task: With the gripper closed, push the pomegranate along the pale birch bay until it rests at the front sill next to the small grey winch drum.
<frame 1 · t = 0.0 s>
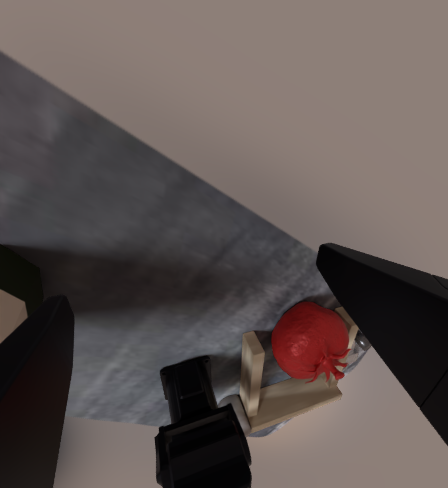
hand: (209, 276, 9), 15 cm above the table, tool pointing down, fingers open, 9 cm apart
pomegranate: (294, 320, 38), on the table
crank handle: (346, 338, 45), on the table
bay: (289, 352, 41), on the table
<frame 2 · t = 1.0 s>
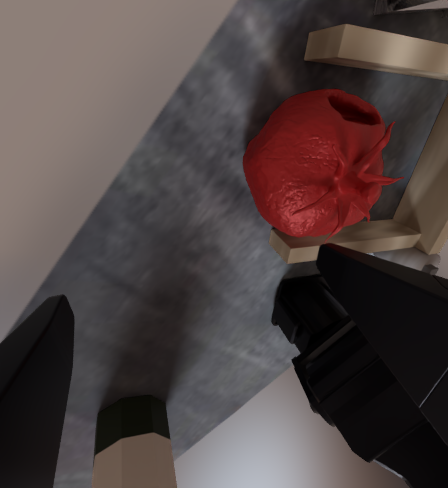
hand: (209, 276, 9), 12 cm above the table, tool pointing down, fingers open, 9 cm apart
wine bottle: (131, 414, 33), on the table
pomegranate: (288, 156, 22), on the table
bay: (358, 158, 24), on the table
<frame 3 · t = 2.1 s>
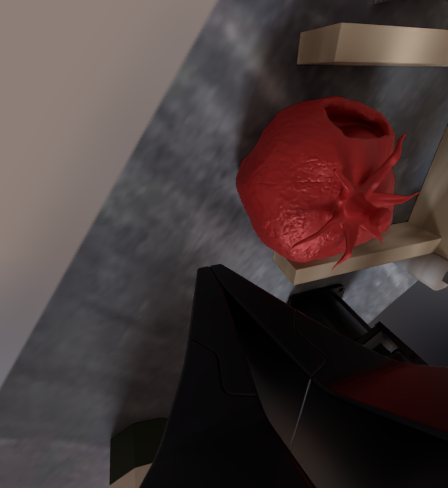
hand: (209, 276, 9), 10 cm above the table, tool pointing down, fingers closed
wine bottle: (145, 436, 32), on the table
pomegranate: (287, 169, 20), on the table
bay: (366, 162, 21), on the table
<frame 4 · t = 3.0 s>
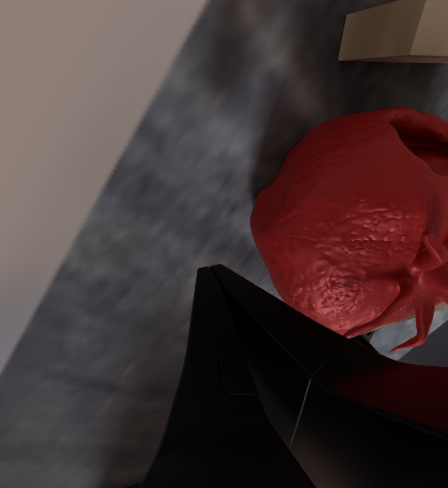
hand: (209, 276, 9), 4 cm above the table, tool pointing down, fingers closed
pomegranate: (315, 199, 15), on the table
bay: (413, 188, 17), on the table
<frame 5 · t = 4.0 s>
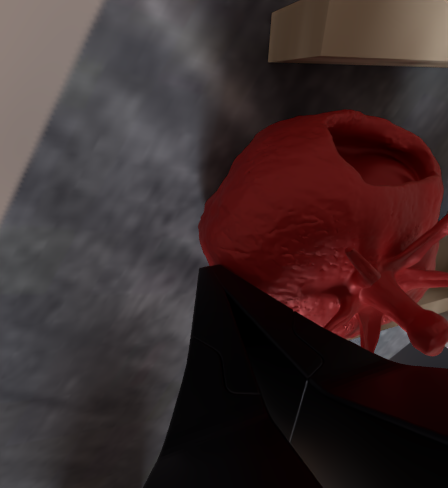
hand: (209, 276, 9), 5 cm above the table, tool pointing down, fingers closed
pomegranate: (277, 205, 14), on the table, touching gripper
bay: (371, 196, 16), on the table
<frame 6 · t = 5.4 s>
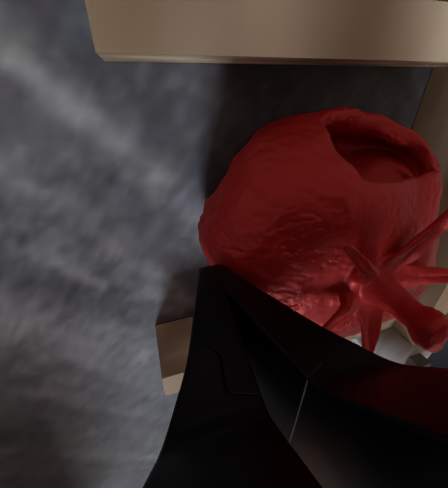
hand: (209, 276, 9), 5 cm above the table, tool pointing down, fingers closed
pomegranate: (277, 204, 14), on the table, touching gripper
bay: (280, 209, 14), on the table
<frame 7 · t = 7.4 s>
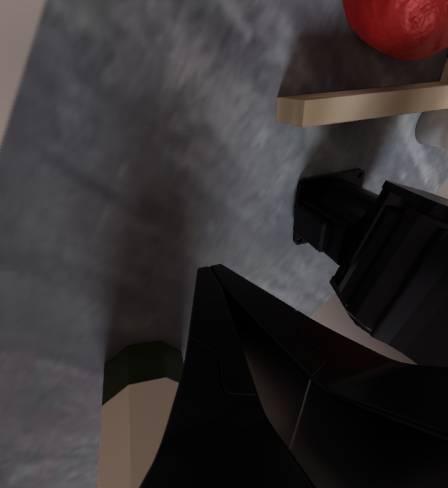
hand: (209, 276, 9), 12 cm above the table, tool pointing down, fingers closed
wine bottle: (144, 366, 29), on the table
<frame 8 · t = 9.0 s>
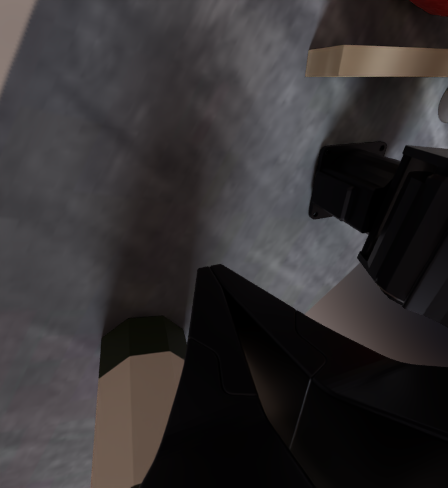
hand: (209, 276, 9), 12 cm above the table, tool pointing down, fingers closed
wine bottle: (143, 343, 27), on the table
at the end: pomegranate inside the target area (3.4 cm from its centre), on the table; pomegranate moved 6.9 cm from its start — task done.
